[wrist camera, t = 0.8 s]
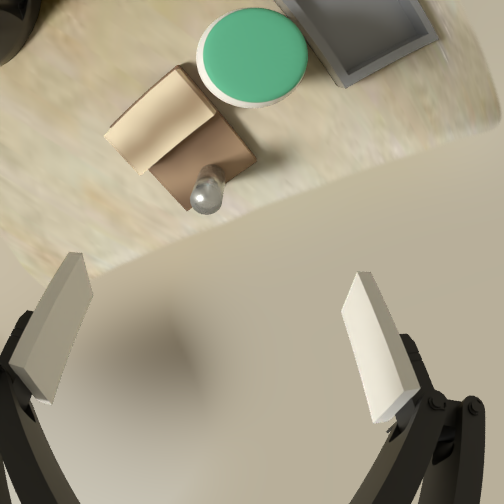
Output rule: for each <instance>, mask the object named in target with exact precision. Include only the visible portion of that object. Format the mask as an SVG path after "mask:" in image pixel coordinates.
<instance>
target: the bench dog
mask: <svg viewBox="0 0 504 504" xmlns="http://www.w3.org/2000/svg"><path fill="white" fill-rule="evenodd" d="M224 184H225V173H224V171H223V169H222V168H220V167H219V166H217V165H213V164H210V165H206V166H204V167H203V168H202V169H201V170H200V172H199V174H198V177H197V179H196V182H195V185H194V188H193V191H192V193H191V196H190V203H191V206H192V207H193V209H194V210H195V211H197V212H198V213H201V214H205V215H208V214H213V213H215V212H216V211H218V210H219V208H220V207H221V204H222V198H223V191H224Z"/></svg>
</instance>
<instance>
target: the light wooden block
mask: <svg viewBox="0 0 504 504" xmlns="http://www.w3.org/2000/svg"><path fill="white" fill-rule="evenodd" d="M215 113H216V110H215V109H214V108H213V107H212V105H211V104H210V103H209V102H208V101H207V99H206V98H205V97H204V96H203V95H202V94H201V92H200V91H199V90H198V89H197V88H196V87H195V85H194V84H193V83H192V82H191V81H190V80H189V78H188V77H187V76H186V75H185V74H184V73H183V72H182V70H181V69H175V70H174V71H173V72H171V73H170V74H169V75H168V76H167V77H165V78H164V79H163V80H162V81H161V82H160V83H158V84H157V85H156V86H155V87H154V88H153V89H152V90H150V91H149V92H148V93H147V94H146V95H145V96H144V97H143V98H142V99H140V100H139V101H138V102H137V103H136V104H135V105H134V106H133V107H132V108H131V109H130V110H129V111H128V112H127V113H126V114H125V115H124V116H123V117H122V118H121V119H120V120H119V121H118V122H117V123H116V124H115V125H114V126H113V127H112V128H111V129H110V130H109V131H108V132H107V133H106V134H105V135H104V137H105V138H106V139H107V140H108V141H109V143H110V144H111V145H112V146H113V147H114V148H115V149H116V150H117V151H118V152H119V153H120V155H121V156H122V157H123V158H124V159H125V160H126V161H127V162H128V163H129V164H130V165H131V166H132V168H133V169H134V170H135V171H136V172H137V173H138V174H139V175H140V176H141V175H142V174H143V173H144V172H146V171H147V170H148V169H149V168H150V167H151V166H152V165H154V164H155V163H156V162H157V161H158V160H159V159H160V158H162V157H163V156H164V155H165V154H166V153H168V152H169V151H170V150H171V149H172V148H174V147H175V146H176V145H177V144H178V143H180V142H181V141H182V140H183V139H185V138H186V137H187V136H188V135H190V134H191V133H192V132H193V131H195V130H196V129H197V128H198V127H200V126H201V125H202V124H204V123H205V122H206V121H207V120H209V119H210V118H211V117H213V116H214V115H215Z"/></svg>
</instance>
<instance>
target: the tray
mask: <svg viewBox="0 0 504 504" xmlns="http://www.w3.org/2000/svg"><path fill="white" fill-rule="evenodd" d="M274 1H275V2H276V4H277V5H278V6H279V7H280V8H281V10H282V11H283V12H284V13H285V14H286V16H287V17H288V18H289V19H290V20H291V21H292V22H293V23H294V24H295V25H296V26H297V27H298V28H299V30H300V31H301V33H302V35H303V37H304V39H305V40H306V42H307V43H308V44H309V46H310V47H311V49H312V50H313V51H314V53H315V54H316V56H317V57H318V58H319V60H320V61H321V63H322V64H323V66H324V67H325V69H326V70H327V72H328V73H329V75H330V76H331V78H332V79H333V81H334V82H335V84H336V85H337V86H339V87H342V88H345V89H346V88H348V87H349V86H351V85H353V84H354V83H356V82H358V81H360V80H361V79H363V78H365V77H367V76H368V75H370V74H372V73H374V72H376V71H378V70H379V69H381V68H383V67H385V66H387V65H389V64H390V63H392V62H394V61H396V60H398V59H400V58H402V57H404V56H406V55H408V54H410V53H412V52H414V51H415V50H417V49H419V48H422V47H424V46H426V45H428V44H430V43H432V42H434V41H436V40H438V39H439V38H438V36H437V34H436V32H435V30H434V28H433V26H432V24H431V23H430V21H429V19H428V17H427V16H426V14H425V12H424V10H423V9H422V7H421V5H420V4H419V2H418V0H274Z"/></svg>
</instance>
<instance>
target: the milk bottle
mask: <svg viewBox="0 0 504 504" xmlns="http://www.w3.org/2000/svg"><path fill="white" fill-rule="evenodd" d="M196 62H197V68H198V72H199V75H200V77H201V79H202V81H203V83H204V84H205V86H206V87H207V88H208V89H209V91H210V92H211V93H213V94H214V95H215V96H216V97H218V98H219V99H221V100H222V101H224V102H226V103H228V104H231V105H234V106H237V107H242V108H261V107H266V106H270V105H273V104H275V103H277V102H279V101H281V100H283V99H284V98H286V97H287V96H289V95H290V94H291V93H292V92H293V91H294V90H295V89H296V88H297V86H298V85H299V83H300V82H301V80H302V78H303V76H304V73H305V70H306V66H307V62H308V50H307V45H306V41H305V39H304V37H303V35H302V33H301V31H300V30H299V28H298V27H297V26H296V25H295V24H294V23H293V22H292V21H291V20H290V19H288V18H287V17H285V16H284V15H282V14H280V13H278V12H276V11H273V10H269V9H264V8H241V9H237V10H233V11H230V12H228V13H226V14H224V15H222V16H220V17H219V18H217V19H216V20H215V21H213V22H212V23H211V24H210V25H209V26H208V28H207V29H206V30H205V31H204V33H203V35H202V37H201V39H200V41H199V44H198V48H197V54H196Z"/></svg>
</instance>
